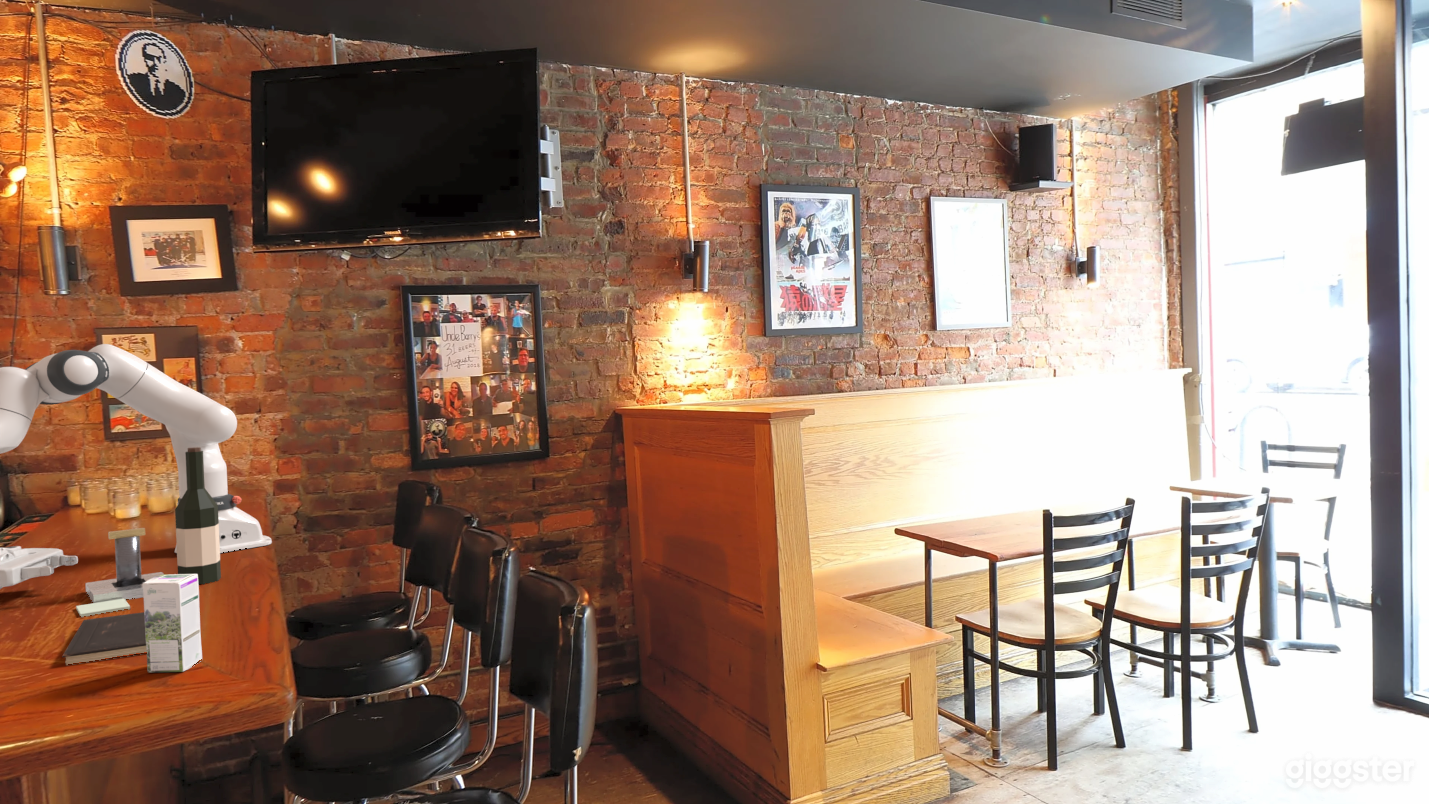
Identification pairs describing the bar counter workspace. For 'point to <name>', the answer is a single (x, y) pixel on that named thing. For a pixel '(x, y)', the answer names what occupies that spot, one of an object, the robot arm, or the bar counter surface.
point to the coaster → (102, 607)
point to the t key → (127, 556)
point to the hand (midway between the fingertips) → (64, 565)
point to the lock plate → (116, 589)
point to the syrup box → (172, 622)
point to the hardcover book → (107, 638)
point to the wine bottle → (197, 525)
